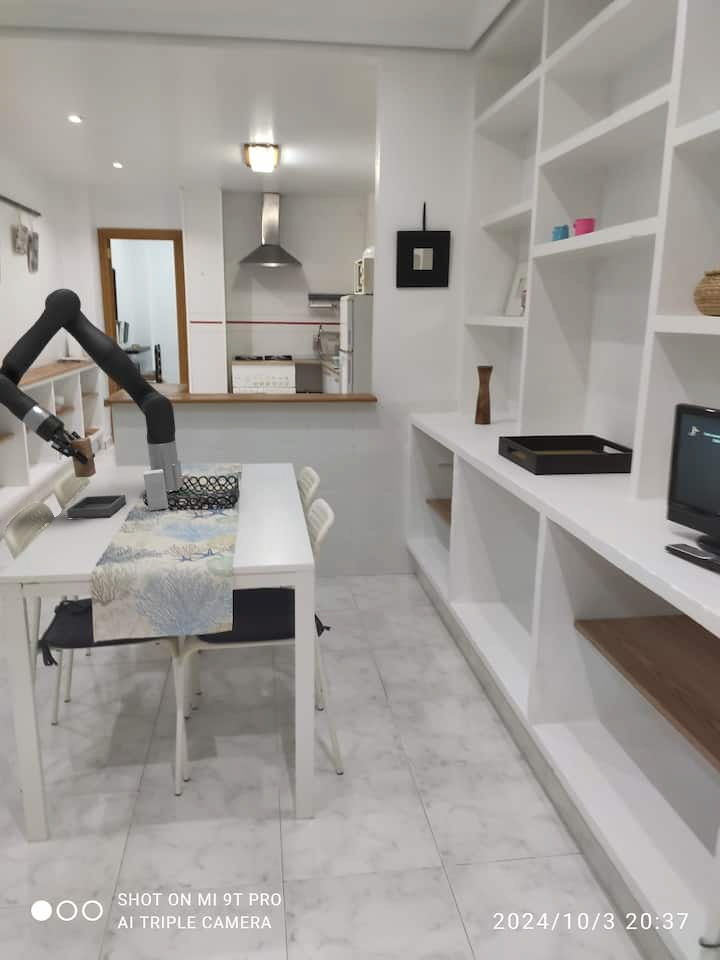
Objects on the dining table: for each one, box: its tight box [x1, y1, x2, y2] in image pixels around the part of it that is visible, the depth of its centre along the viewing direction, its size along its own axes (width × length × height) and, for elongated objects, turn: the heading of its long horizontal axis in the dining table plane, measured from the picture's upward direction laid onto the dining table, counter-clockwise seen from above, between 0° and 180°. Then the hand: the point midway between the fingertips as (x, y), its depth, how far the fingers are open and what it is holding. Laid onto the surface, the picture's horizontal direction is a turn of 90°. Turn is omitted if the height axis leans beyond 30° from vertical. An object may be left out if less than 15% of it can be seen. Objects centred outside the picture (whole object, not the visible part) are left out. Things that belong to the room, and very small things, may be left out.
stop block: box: [71, 437, 97, 478], centre depth 211 cm, size 4×4×11 cm
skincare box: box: [143, 469, 169, 512], centre depth 220 cm, size 6×4×12 cm
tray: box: [66, 494, 127, 519], centre depth 221 cm, size 13×14×3 cm
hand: (89, 460), depth 211 cm, fingers closed on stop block, 4 cm apart
